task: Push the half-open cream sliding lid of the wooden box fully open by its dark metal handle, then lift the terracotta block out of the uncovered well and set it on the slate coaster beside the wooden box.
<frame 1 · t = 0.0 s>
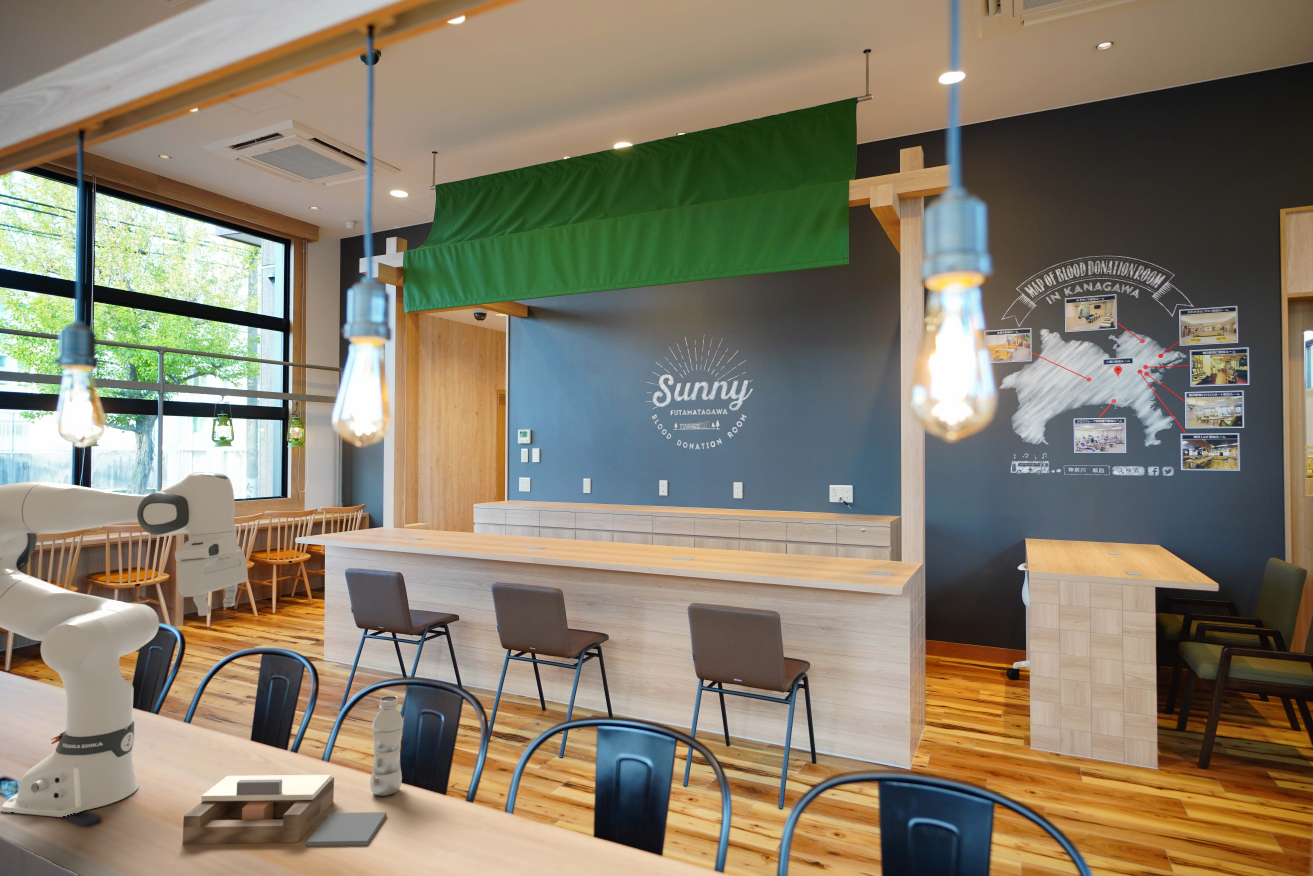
hand: (217, 610, 152), 39 cm above the table, tool pointing down, fingers open, 8 cm apart
wooden box: (262, 821, 139), on the table
block: (257, 827, 137), resting in wooden box
plastic bottle: (385, 793, 152), on the table
lid: (268, 781, 141), point 7 cm above the table, slide at 4.0 cm
coaster: (348, 830, 136), on the table
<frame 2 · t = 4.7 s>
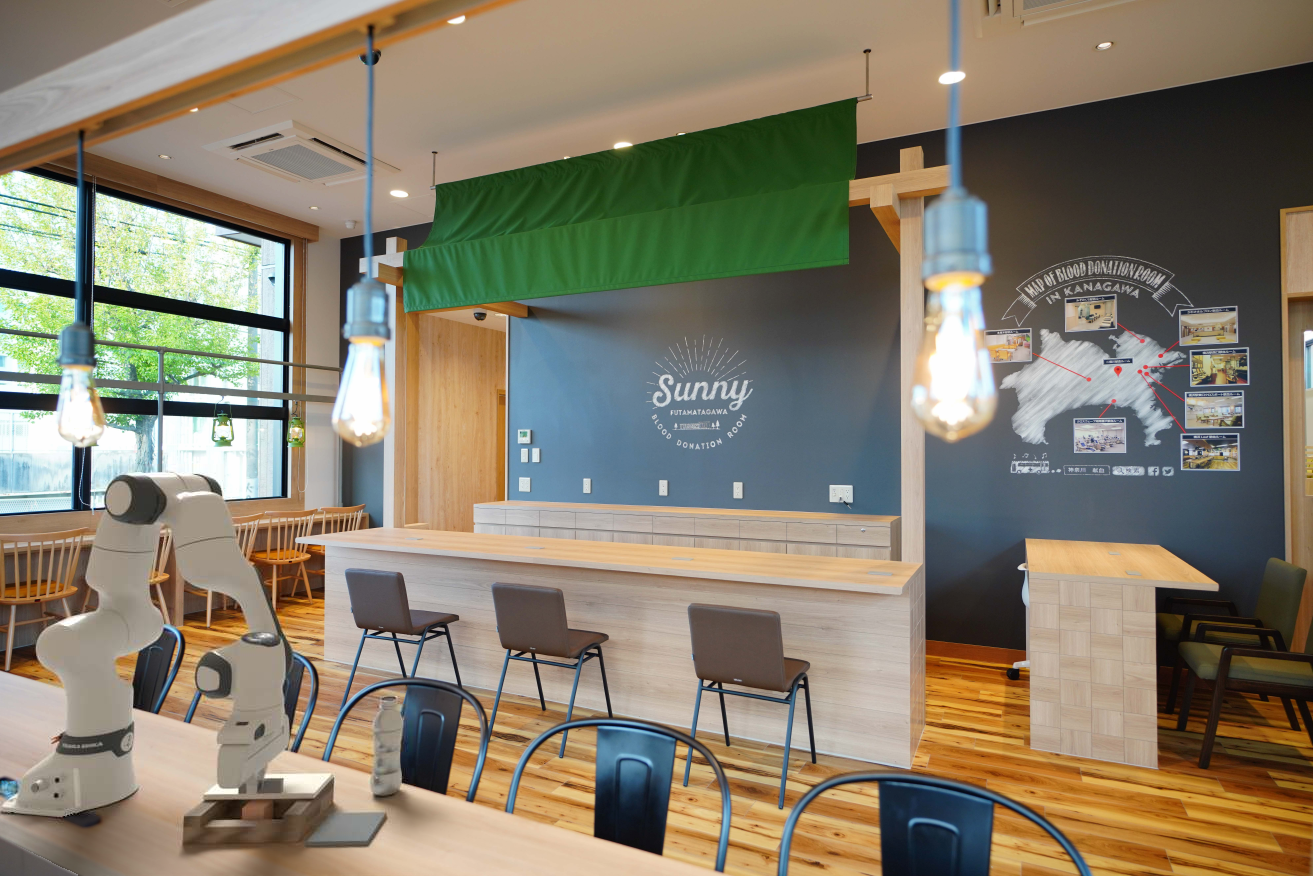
hand: (254, 791, 136), 7 cm above the table, tool pointing down, fingers closed
lid: (270, 779, 142), point 7 cm above the table, slide at 4.6 cm, touching gripper
everything else where it was.
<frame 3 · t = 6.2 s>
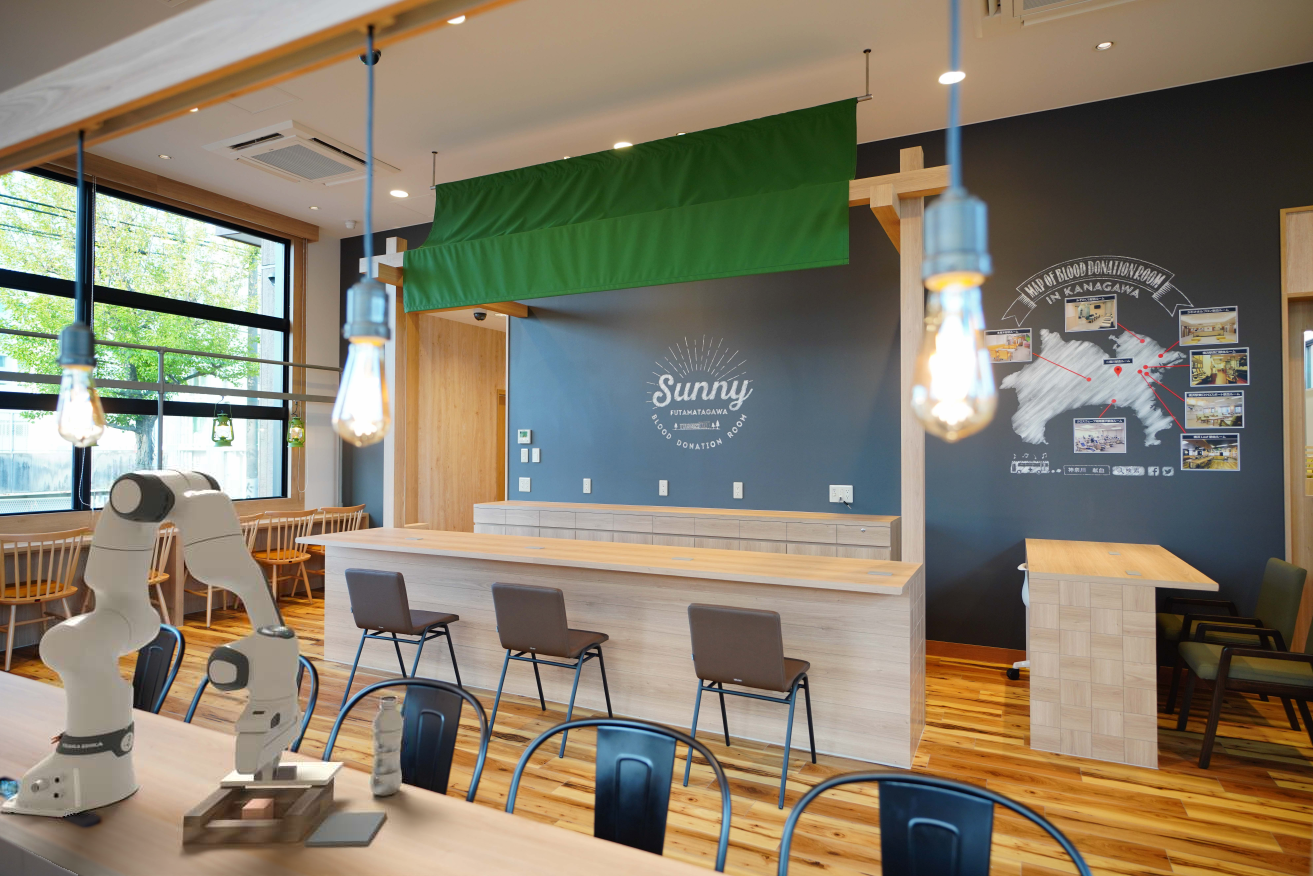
hand: (270, 778, 142), 7 cm above the table, tool pointing down, fingers closed
lid: (284, 767, 147), point 7 cm above the table, slide at 10.4 cm, touching gripper
everything else where it was.
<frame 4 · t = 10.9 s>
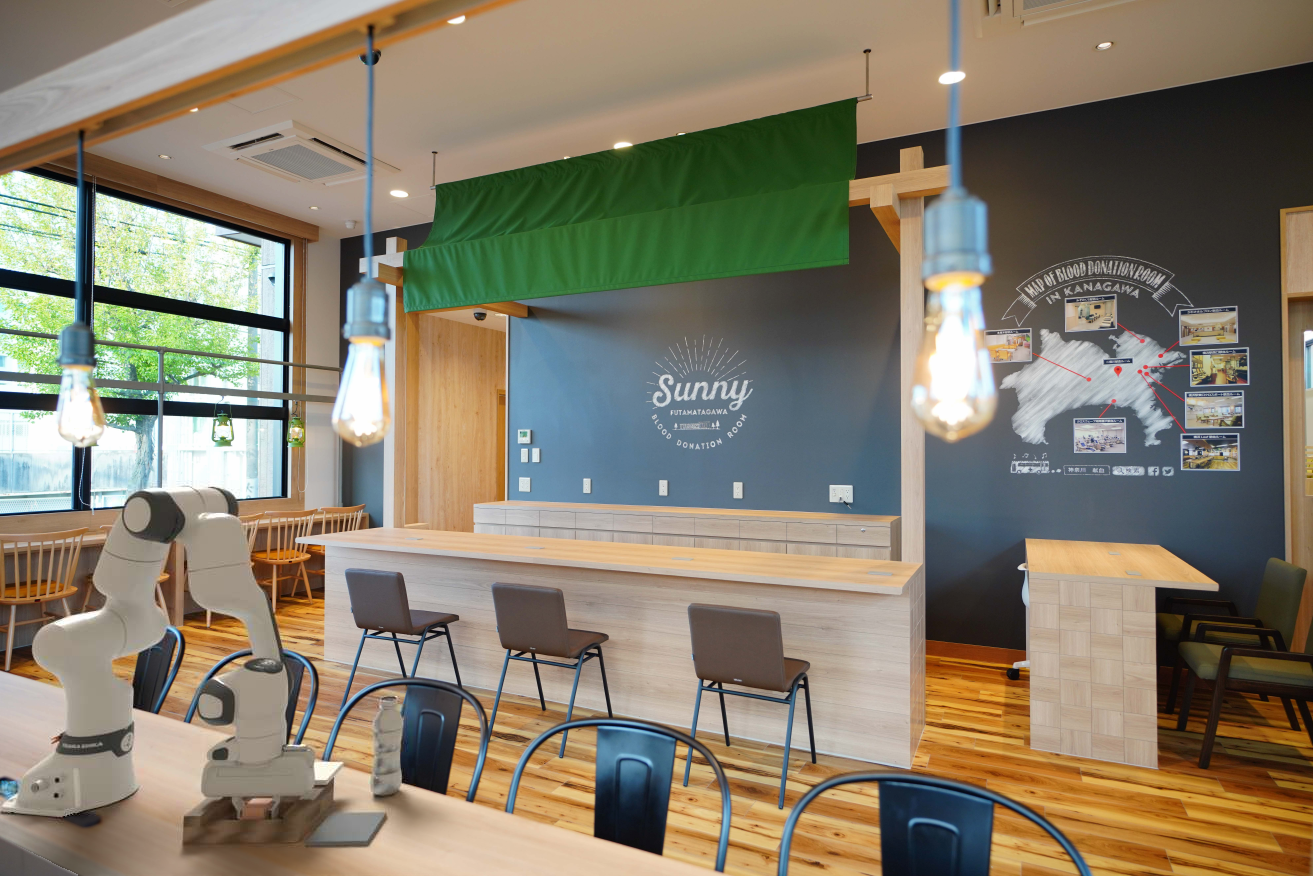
hand: (257, 817, 137), 2 cm above the table, tool pointing down, fingers closed on block, 4 cm apart
block: (257, 826, 137), resting in wooden box, touching gripper
lid: (284, 767, 147), point 7 cm above the table, slide at 10.5 cm
everything else where it was.
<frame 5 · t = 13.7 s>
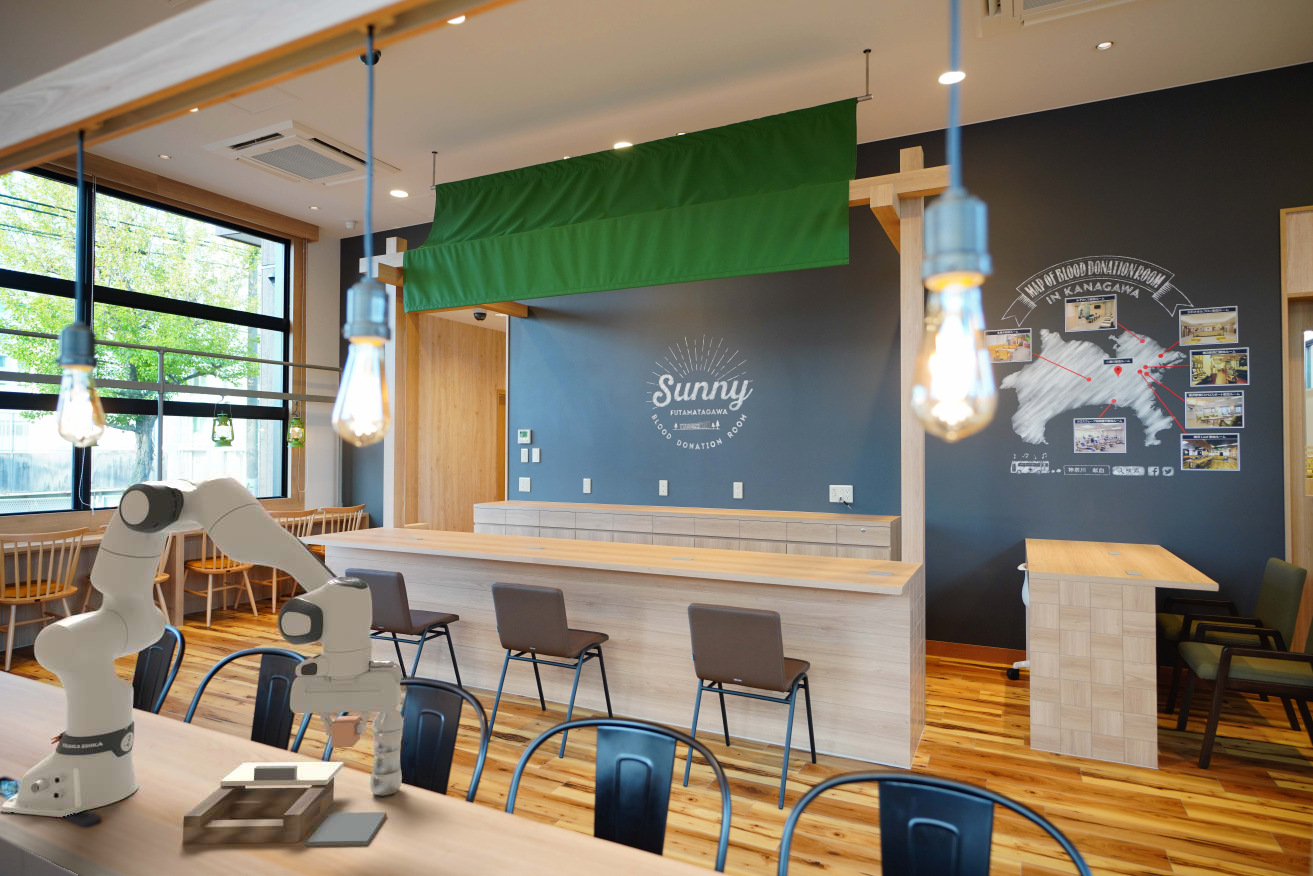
hand: (346, 734, 136), 18 cm above the table, tool pointing down, fingers closed on block, 4 cm apart
block: (345, 743, 136), point 17 cm above the table, touching gripper
everything else where it was.
when the fingers open (4 cm above the table, at t = 16.8 s): block drops 1 cm, resting on coaster.
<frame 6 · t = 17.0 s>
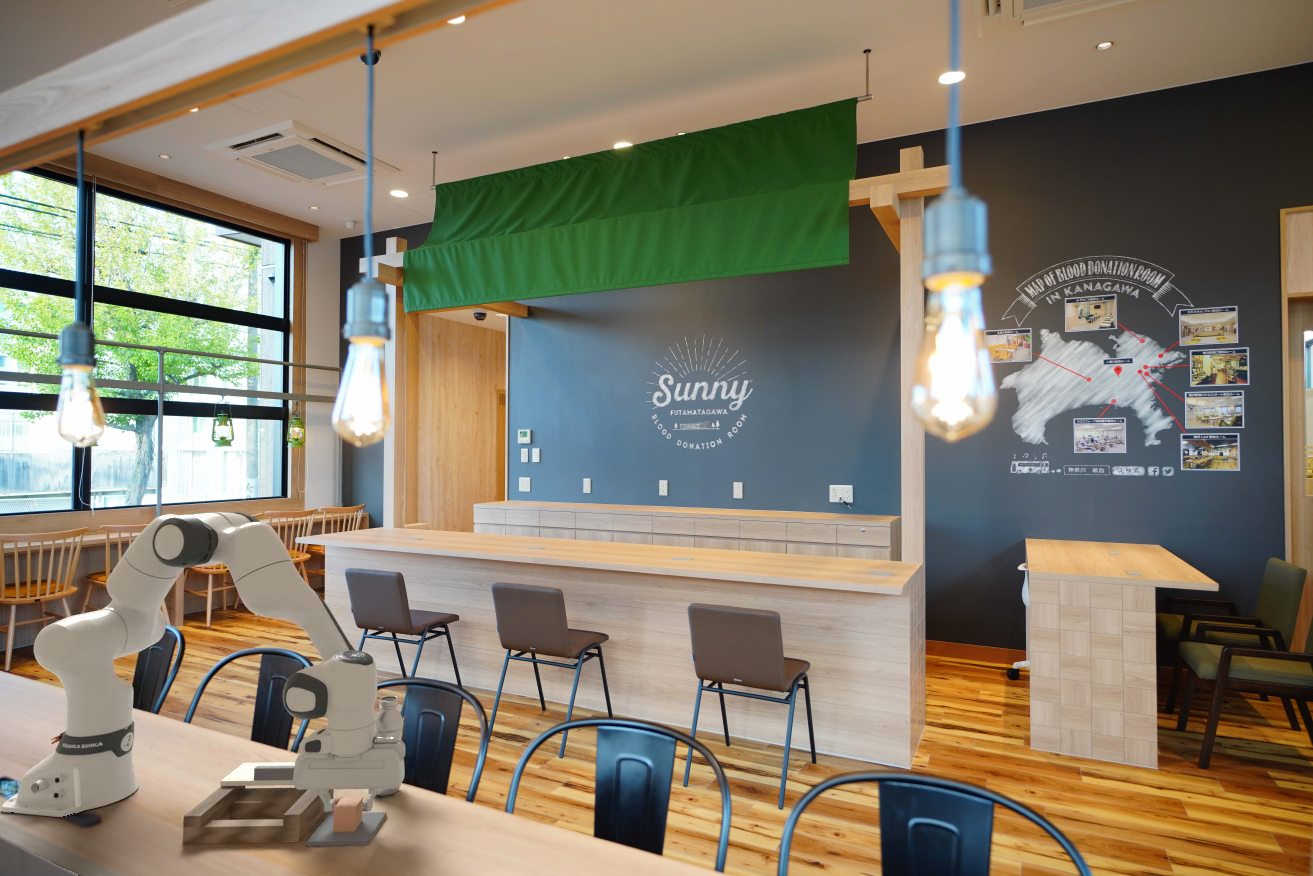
hand: (348, 810, 136), 4 cm above the table, tool pointing down, fingers open, 6 cm apart
block: (347, 826, 136), point 1 cm above the table, touching coaster
everything else where it was.
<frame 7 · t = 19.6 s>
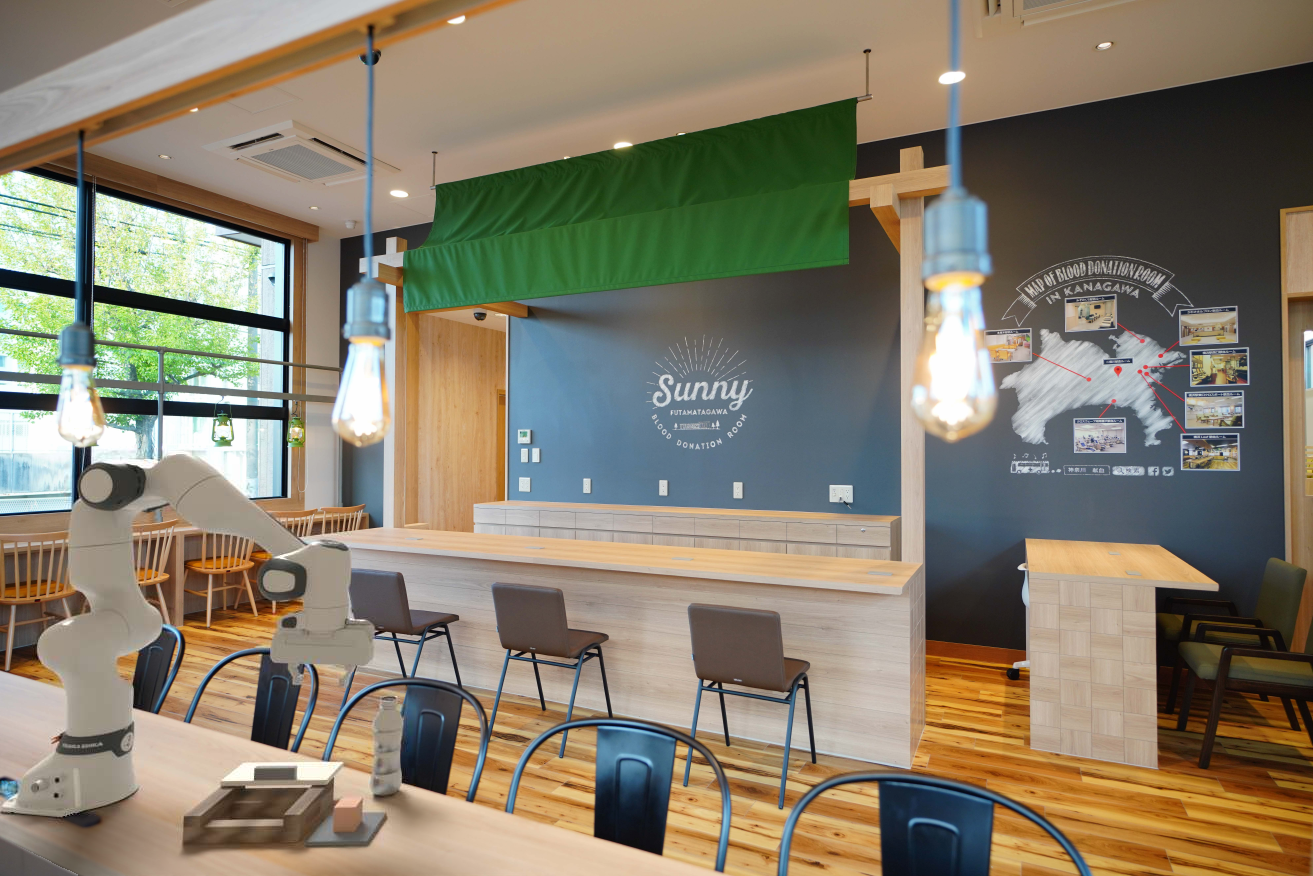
hand: (320, 684, 147), 25 cm above the table, tool pointing down, fingers open, 8 cm apart
nothing on the table moved.
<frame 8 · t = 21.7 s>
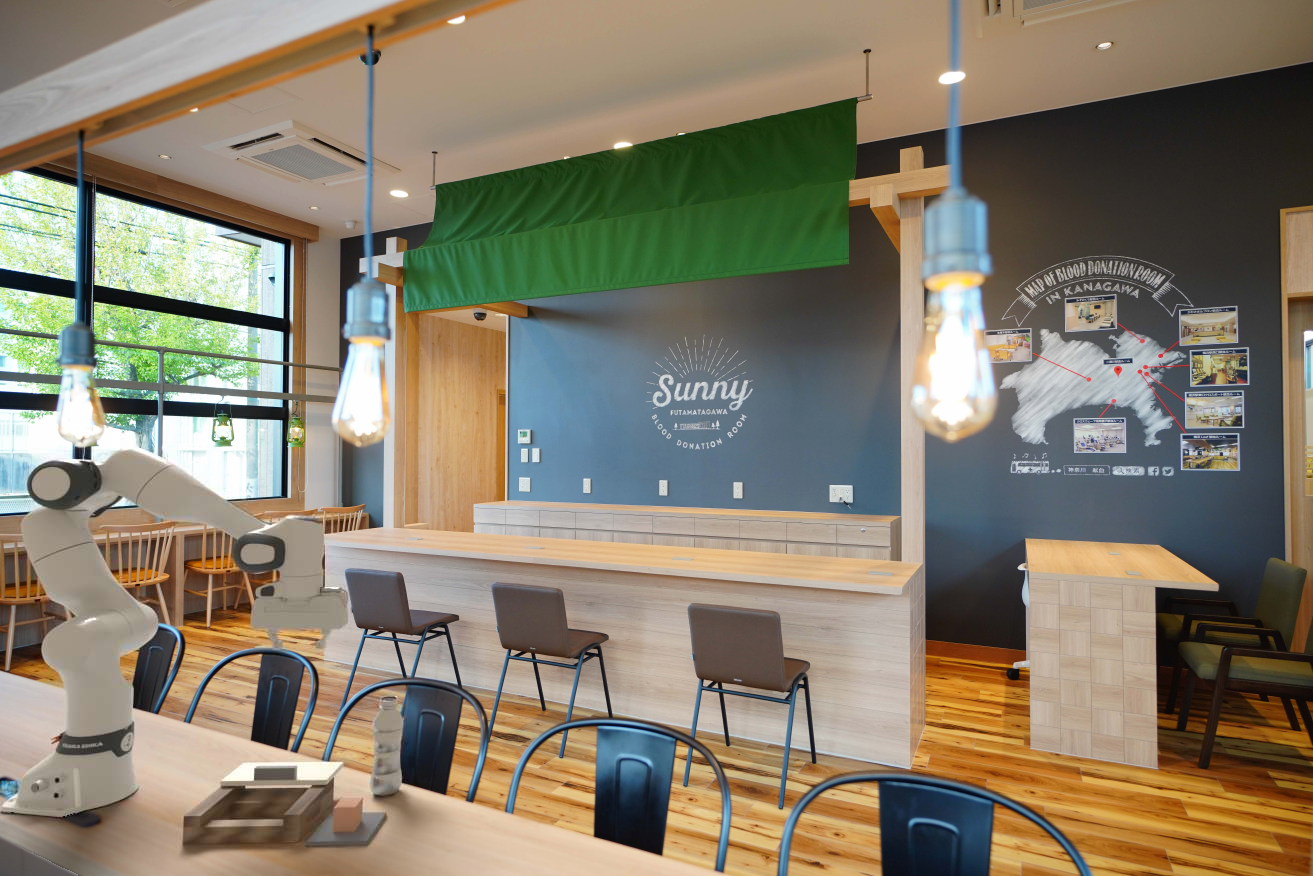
hand: (299, 649, 158), 29 cm above the table, tool pointing down, fingers open, 8 cm apart
nothing on the table moved.
at the end: lid slide at 10.5 cm; block inside the target area on the coaster (0.1 cm from its centre), point 0.8 cm above the coaster's base; block tilted 0° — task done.
